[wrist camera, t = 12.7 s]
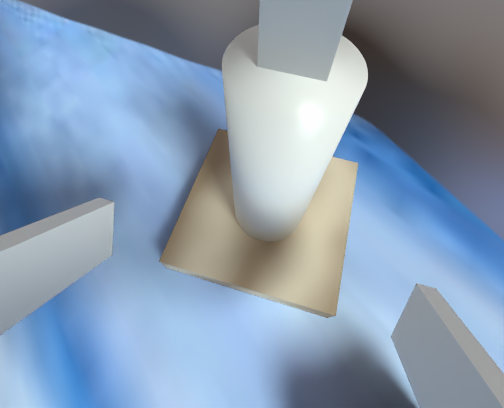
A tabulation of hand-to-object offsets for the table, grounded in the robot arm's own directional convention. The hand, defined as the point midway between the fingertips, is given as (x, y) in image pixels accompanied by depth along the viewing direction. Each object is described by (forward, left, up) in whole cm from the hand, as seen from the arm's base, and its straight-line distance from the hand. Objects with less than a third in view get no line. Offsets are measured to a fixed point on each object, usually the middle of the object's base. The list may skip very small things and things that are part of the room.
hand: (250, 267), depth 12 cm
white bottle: (0, +6, -7) cm, 9 cm away
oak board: (0, +6, -9) cm, 11 cm away
